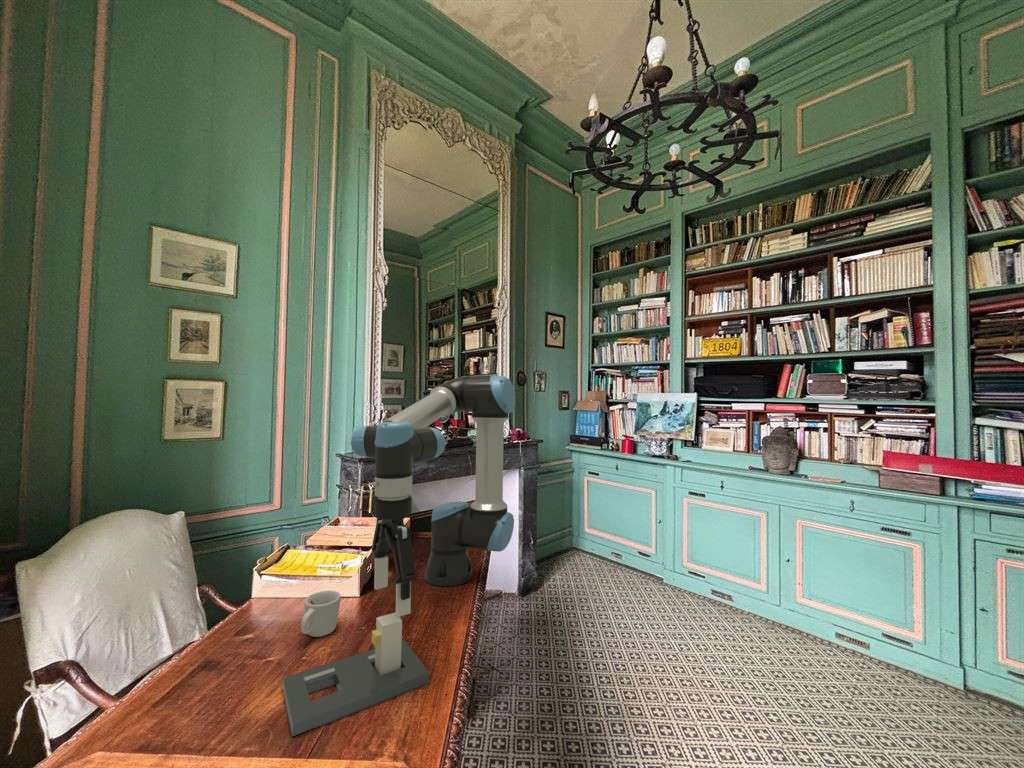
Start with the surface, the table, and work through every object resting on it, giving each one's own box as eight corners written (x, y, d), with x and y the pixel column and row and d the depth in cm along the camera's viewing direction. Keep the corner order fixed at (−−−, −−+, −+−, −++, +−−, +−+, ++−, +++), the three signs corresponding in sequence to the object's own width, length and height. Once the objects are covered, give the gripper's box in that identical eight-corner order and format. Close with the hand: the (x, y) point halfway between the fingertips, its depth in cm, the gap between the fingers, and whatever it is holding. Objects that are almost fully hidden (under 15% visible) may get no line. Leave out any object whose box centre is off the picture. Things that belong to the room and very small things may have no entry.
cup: (317, 650, 91) (318, 613, 92) (286, 645, 93) (288, 609, 93) (346, 625, 102) (347, 592, 102) (317, 621, 103) (319, 588, 104)
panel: (403, 648, 92) (404, 638, 92) (429, 683, 81) (429, 672, 81) (282, 688, 78) (283, 677, 78) (292, 737, 67) (292, 724, 67)
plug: (393, 666, 86) (395, 612, 86) (400, 676, 82) (402, 620, 83) (369, 675, 83) (371, 619, 83) (374, 686, 80) (377, 627, 80)
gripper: (358, 487, 93) (356, 582, 92) (396, 512, 73) (393, 634, 72) (391, 483, 97) (389, 574, 97) (435, 506, 77) (433, 621, 76)
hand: (391, 600), depth 84 cm, fingers open, 13 cm apart
